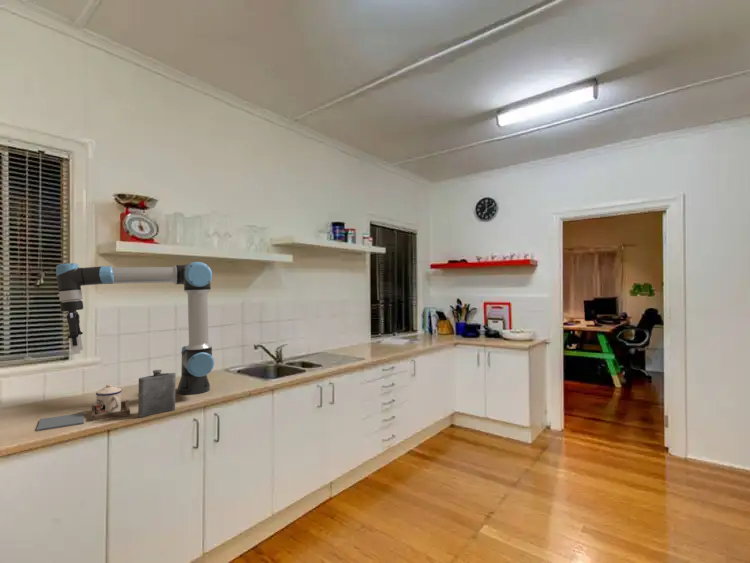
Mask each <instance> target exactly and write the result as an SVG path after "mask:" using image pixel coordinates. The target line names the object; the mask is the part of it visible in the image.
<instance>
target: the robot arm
mask: <svg viewBox="0 0 750 563" xmlns="http://www.w3.org/2000/svg"><path fill="white" fill-rule="evenodd" d="M55 271H56V272H55V275H56V283H57V290H58V294H57V295H56V297H59V301H60V303H59V306H60V312H63V313H64V312H68V313H67V315H66V320H67V324H68V333H69V334H68V335H67V339H69V340H70V348H71V355H79V354H81V351H83V350H84V349H83V341H82V340H83V339H82V335H83V334H84V333H83V331H81V326H80V323H81V322H80V314H79V311H81V310H83V309H84V302H83V292H82V286H84V287H85V286H95V285H111V284H113V285H115V284H118V285H119V284H163V283H165V284H167V283H173V284H174V285H183V290H184V292H185V293H187V315H188V316H187V317H188V318H187V321H188V345H184V346H182V348H181V352H180V353H181V367H180V368H181V375H180V379H179V382H178V385H177V388H176V389H177V392H176V393H177V394H181V395H196V394H197V395H198V394H202V393H206V392H208V391H210V390H211V385H210V380H209V378H208V374H210V373H211V372H212V370H213V369H214V366H215V360H214V357H213V346H212V345H211V344H210V343H209V317H208V316H209V315H208V314H209V311H208V310H209V309H208V308H209V307H208V293H210V291H211V281H212V280H213V279H212V278H213V271H212V269H211V268H210V266H209V265H208V264H206V263H204V262H202V261H193V262H190V263H186V264H175V265H173V266H165V267H164V266H163V267H162V266H159V267H157V266H155V267H154V266H150V267H149V266H147V267H146V266H144V267H143V266H142V267H141V266H138V267H137V266H136V267H135V266H134V267H129V266H128V267H126V266H125V267H119V266H118V267H117V266H116V267H115V266H114V267H112V266H110V265H103V266H102V265H100V266H89V267H80V266H79V264H78V263H76V262H75V263H73V262H72V263H71V262H69V263H68V262H67V263H61V264H60V263H59V264H57V265H56V266H55ZM78 310H79V311H78Z"/></svg>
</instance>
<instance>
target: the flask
mask: <svg viewBox="0 0 750 563" xmlns="http://www.w3.org/2000/svg"><path fill="white" fill-rule="evenodd" d="M152 373H153V375H148V376H142V377H138V398H137V400H138V402H137V403H138V407H137V408H138V410H137V411H138V412H137V413H138V414H137V415H138V419H141V418H142V419H143V418H146V417H150V416H153V415H158V414H163V413H167V412H174V411H176V375H177V374H176V372H169V373H168V372H165V373H164V372H163V373H162V369H153V370H152Z"/></svg>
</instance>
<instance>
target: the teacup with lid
mask: <svg viewBox="0 0 750 563" xmlns="http://www.w3.org/2000/svg"><path fill="white" fill-rule="evenodd" d="M122 391H123V390H122V388H120V387H116V386H113V384H111V383H110V384H109V383H107V384H106V385H105V387H103V388H102V389H99V390H97V391H96V392H95V395H96V397H95V398H96V399H95V400H96V403H95V405H96V410H95V415H97V414H104V413H111V412H117V411H122V407H121V402H122Z"/></svg>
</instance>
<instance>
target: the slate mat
mask: <svg viewBox="0 0 750 563" xmlns="http://www.w3.org/2000/svg"><path fill="white" fill-rule="evenodd" d="M84 420H85V412H79V413H72V414H64V415H57V416H51V417H43V418H40V419H39V422H38V425H37V427H36V432H41V431H46V430H52V429H59V427H60V428H65V427H72V426H77V425H78V426H79V425H84Z"/></svg>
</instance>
